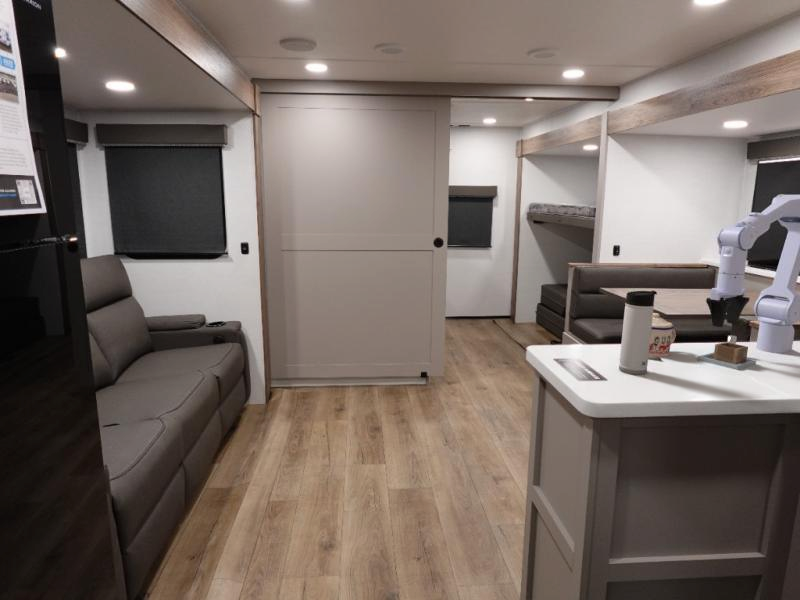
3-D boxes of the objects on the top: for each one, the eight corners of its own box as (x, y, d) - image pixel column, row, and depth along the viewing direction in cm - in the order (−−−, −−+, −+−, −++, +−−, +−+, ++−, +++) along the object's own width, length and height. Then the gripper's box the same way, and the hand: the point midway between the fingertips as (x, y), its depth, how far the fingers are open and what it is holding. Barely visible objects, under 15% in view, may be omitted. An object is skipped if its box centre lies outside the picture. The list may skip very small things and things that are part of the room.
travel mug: (650, 376, 128) (660, 293, 125) (621, 373, 129) (629, 291, 126) (644, 368, 134) (653, 289, 131) (616, 366, 135) (624, 287, 132)
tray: (716, 358, 145) (717, 351, 145) (755, 368, 137) (756, 360, 137) (697, 363, 140) (698, 356, 139) (736, 373, 132) (737, 365, 132)
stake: (723, 354, 149) (726, 332, 148) (745, 359, 144) (748, 337, 143) (713, 357, 146) (716, 335, 145) (735, 362, 141) (738, 339, 140)
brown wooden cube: (723, 360, 141) (725, 342, 141) (745, 365, 137) (748, 346, 136) (712, 363, 139) (715, 344, 138) (734, 368, 134) (737, 349, 133)
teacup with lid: (650, 361, 141) (655, 317, 139) (625, 352, 149) (629, 311, 147) (685, 358, 145) (691, 315, 143) (659, 349, 153) (664, 309, 151)
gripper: (728, 270, 146) (722, 319, 148) (700, 273, 138) (694, 324, 140) (757, 273, 140) (750, 324, 143) (730, 276, 132) (723, 330, 135)
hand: (724, 324), depth 141 cm, fingers open, 7 cm apart
